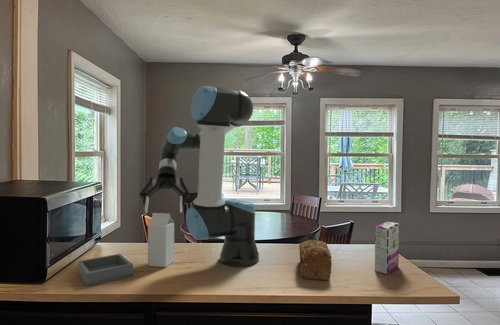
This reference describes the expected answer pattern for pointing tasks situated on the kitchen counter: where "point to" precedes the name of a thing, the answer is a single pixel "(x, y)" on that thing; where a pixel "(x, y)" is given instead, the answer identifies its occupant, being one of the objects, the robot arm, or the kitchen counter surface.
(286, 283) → the kitchen counter surface
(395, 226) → the candy bar box
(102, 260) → the bin
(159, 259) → the milk carton
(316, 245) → the bread
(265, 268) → the kitchen counter surface
